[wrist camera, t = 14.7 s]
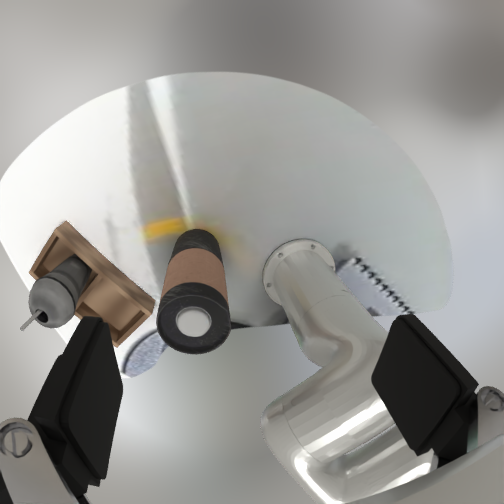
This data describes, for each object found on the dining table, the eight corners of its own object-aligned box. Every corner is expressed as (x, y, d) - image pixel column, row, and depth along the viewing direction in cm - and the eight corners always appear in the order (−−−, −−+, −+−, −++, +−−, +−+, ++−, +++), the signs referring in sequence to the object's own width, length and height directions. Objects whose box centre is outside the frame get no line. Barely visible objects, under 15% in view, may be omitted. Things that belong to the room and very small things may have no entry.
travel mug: (164, 256, 46) (142, 334, 28) (190, 217, 45) (179, 279, 26) (203, 280, 49) (205, 365, 31) (231, 244, 47) (247, 317, 29)
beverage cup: (73, 288, 45) (25, 364, 27) (55, 251, 42) (-6, 317, 24) (106, 278, 46) (63, 357, 27) (88, 238, 43) (30, 305, 24)
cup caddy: (155, 300, 49) (152, 313, 45) (121, 333, 51) (116, 347, 47) (66, 220, 41) (55, 228, 38) (38, 262, 43) (28, 272, 39)
